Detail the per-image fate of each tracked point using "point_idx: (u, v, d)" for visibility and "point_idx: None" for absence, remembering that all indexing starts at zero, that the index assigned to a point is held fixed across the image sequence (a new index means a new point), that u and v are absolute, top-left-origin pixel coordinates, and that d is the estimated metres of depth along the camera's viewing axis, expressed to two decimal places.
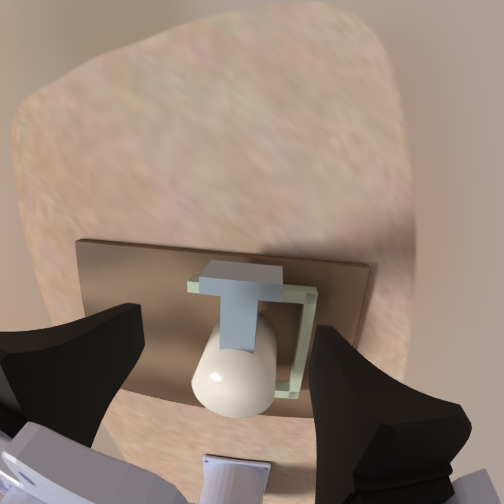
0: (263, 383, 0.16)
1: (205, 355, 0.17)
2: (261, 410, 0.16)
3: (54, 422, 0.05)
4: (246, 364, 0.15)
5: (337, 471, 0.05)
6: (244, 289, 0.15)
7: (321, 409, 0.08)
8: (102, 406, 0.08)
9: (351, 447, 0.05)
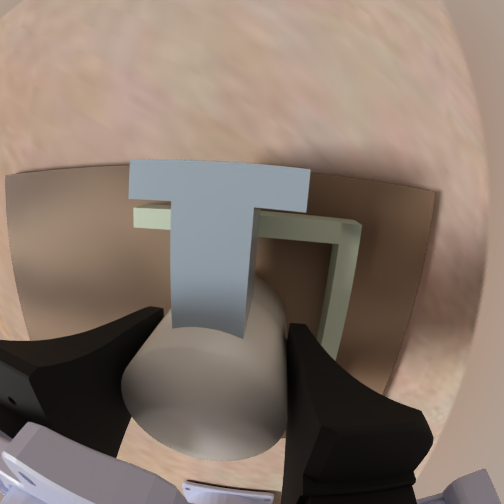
0: (263, 403, 0.07)
1: (147, 339, 0.08)
2: (258, 451, 0.08)
3: (82, 435, 0.05)
4: (227, 360, 0.07)
5: (294, 471, 0.05)
6: (223, 181, 0.07)
7: (289, 408, 0.08)
8: (127, 414, 0.08)
9: (303, 448, 0.05)
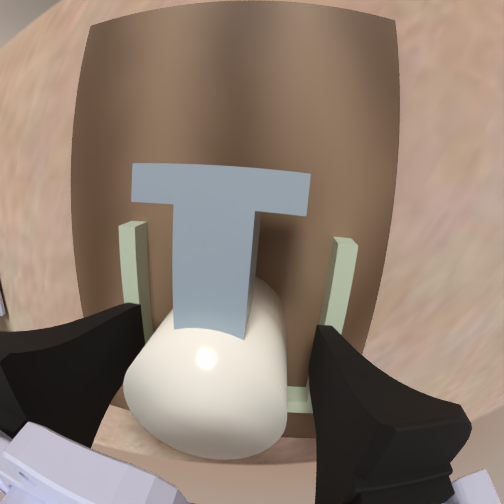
0: (263, 403, 0.07)
1: (149, 340, 0.08)
2: (258, 450, 0.08)
3: (54, 422, 0.05)
4: (227, 360, 0.07)
5: (337, 471, 0.05)
6: (225, 185, 0.07)
7: (321, 409, 0.08)
8: (102, 406, 0.08)
9: (351, 447, 0.05)
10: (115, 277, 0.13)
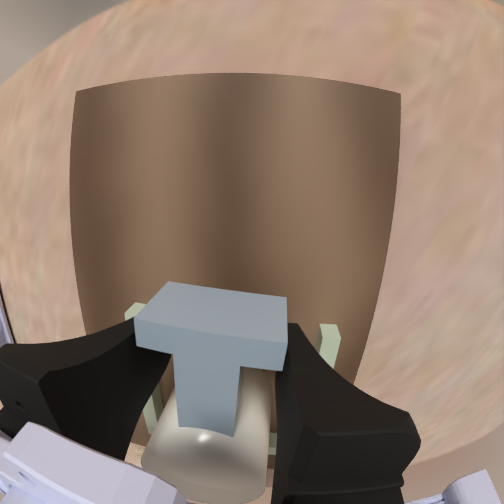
0: (247, 478, 0.08)
1: (159, 429, 0.09)
2: (244, 501, 0.09)
3: (92, 439, 0.05)
4: (220, 457, 0.08)
5: (281, 471, 0.05)
6: (215, 347, 0.08)
7: (280, 407, 0.08)
8: (135, 417, 0.08)
9: (289, 447, 0.05)
10: None
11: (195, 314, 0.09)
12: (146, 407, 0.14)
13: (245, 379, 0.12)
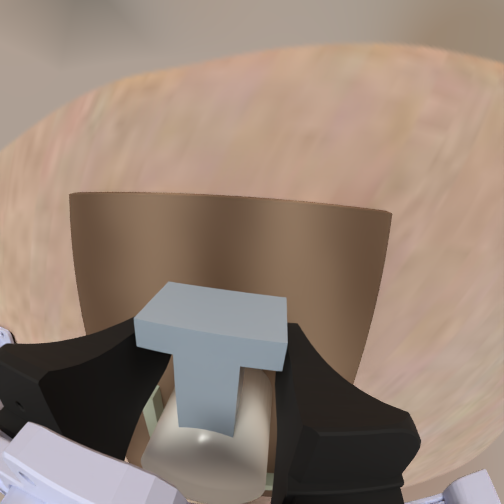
0: (247, 478, 0.08)
1: (159, 429, 0.09)
2: (244, 501, 0.09)
3: (92, 439, 0.05)
4: (220, 457, 0.08)
5: (282, 471, 0.05)
6: (215, 347, 0.08)
7: (280, 407, 0.08)
8: (135, 417, 0.08)
9: (289, 447, 0.05)
10: None
11: (195, 314, 0.09)
12: None
13: (245, 379, 0.12)
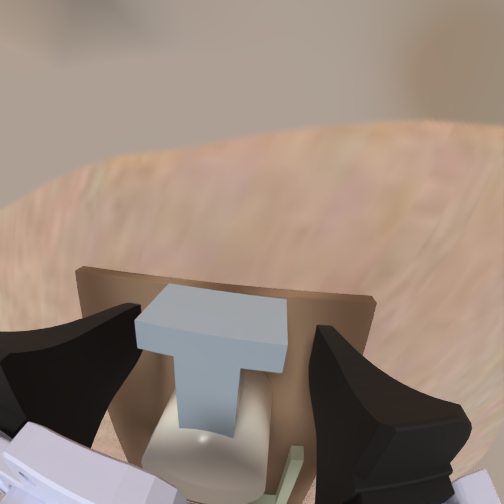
0: (247, 479, 0.08)
1: (159, 430, 0.09)
2: (244, 502, 0.09)
3: (54, 422, 0.05)
4: (221, 458, 0.08)
5: (337, 471, 0.05)
6: (215, 349, 0.08)
7: (321, 409, 0.08)
8: (102, 406, 0.08)
9: (351, 447, 0.05)
10: (147, 444, 0.17)
11: (196, 316, 0.09)
12: None
13: (245, 380, 0.12)
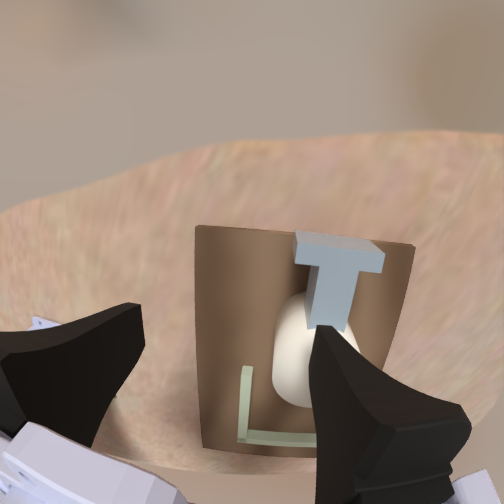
0: None
1: (288, 337, 0.15)
2: None
3: (54, 422, 0.05)
4: None
5: (337, 471, 0.05)
6: (346, 258, 0.14)
7: (321, 409, 0.08)
8: (102, 406, 0.08)
9: (351, 447, 0.05)
10: (228, 389, 0.23)
11: (329, 242, 0.14)
12: (241, 425, 0.22)
13: None
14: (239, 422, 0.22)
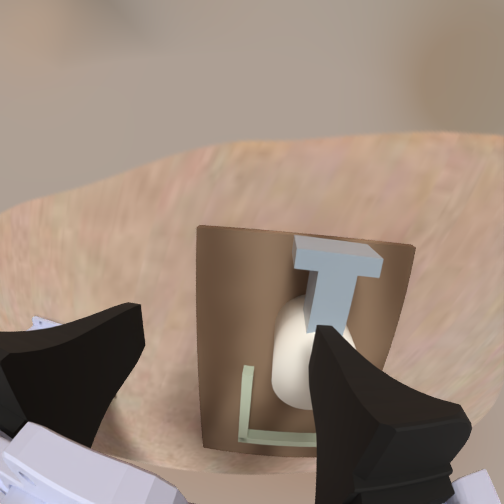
0: None
1: (288, 340, 0.15)
2: None
3: (54, 422, 0.05)
4: None
5: (337, 471, 0.05)
6: (345, 263, 0.14)
7: (321, 409, 0.08)
8: (102, 406, 0.08)
9: (351, 447, 0.05)
10: (229, 389, 0.23)
11: (328, 247, 0.14)
12: (242, 425, 0.22)
13: None
14: (240, 422, 0.22)
